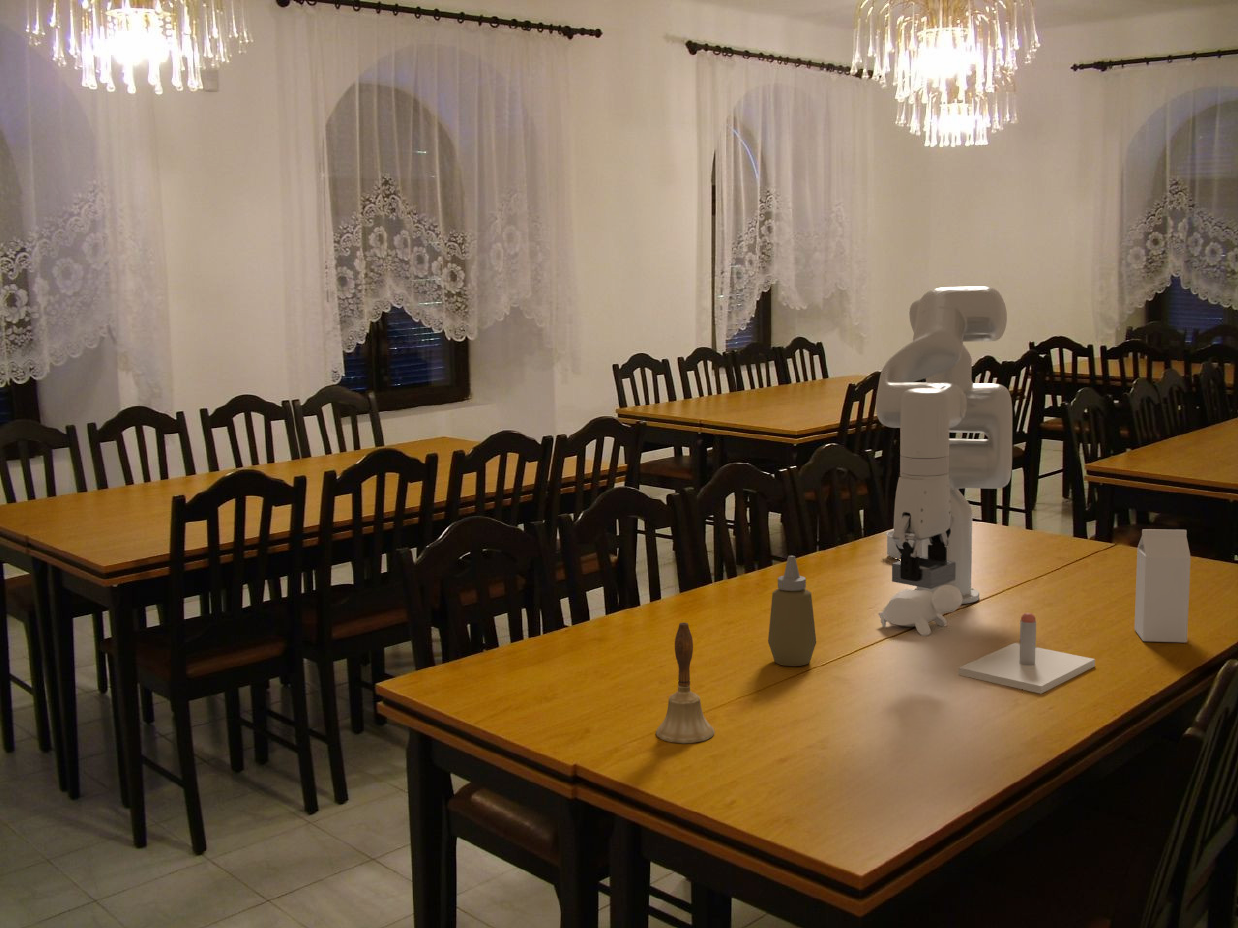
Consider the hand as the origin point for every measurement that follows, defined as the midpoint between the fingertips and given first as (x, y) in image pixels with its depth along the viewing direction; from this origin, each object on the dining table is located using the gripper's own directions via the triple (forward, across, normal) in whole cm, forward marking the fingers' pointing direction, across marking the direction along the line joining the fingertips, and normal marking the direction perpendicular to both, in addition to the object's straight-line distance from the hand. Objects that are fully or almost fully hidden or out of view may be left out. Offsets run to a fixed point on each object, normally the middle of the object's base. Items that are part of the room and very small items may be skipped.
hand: (923, 574), depth 199 cm
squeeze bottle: (+16, +12, -18) cm, 26 cm away
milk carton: (+16, -41, +21) cm, 49 cm away
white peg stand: (+16, -9, +13) cm, 23 cm away
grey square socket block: (+1, 0, 0) cm, 1 cm away
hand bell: (+15, +48, -9) cm, 51 cm away
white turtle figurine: (+16, -19, -12) cm, 28 cm away
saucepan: (+18, -67, -41) cm, 81 cm away
